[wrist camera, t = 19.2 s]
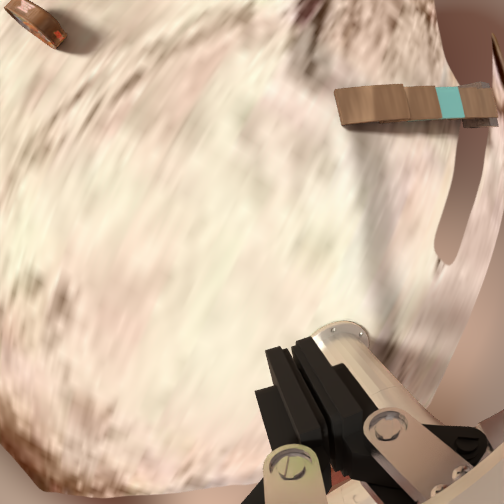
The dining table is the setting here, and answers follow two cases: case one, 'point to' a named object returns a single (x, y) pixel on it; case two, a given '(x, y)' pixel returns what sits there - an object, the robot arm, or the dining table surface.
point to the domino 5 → (486, 103)
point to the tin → (37, 21)
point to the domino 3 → (449, 103)
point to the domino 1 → (371, 104)
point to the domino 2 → (421, 104)
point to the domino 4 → (470, 102)
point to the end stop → (479, 121)
